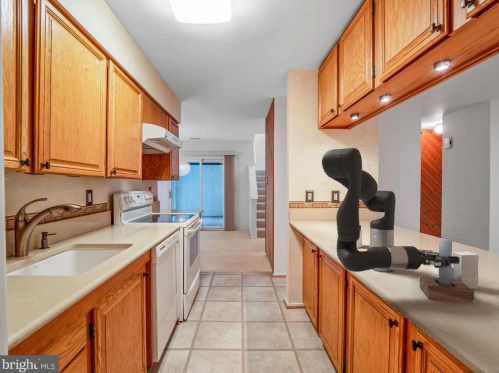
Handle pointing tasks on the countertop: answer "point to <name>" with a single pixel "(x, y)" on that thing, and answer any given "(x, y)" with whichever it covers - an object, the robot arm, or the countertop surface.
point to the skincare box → (467, 269)
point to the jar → (359, 241)
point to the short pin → (452, 273)
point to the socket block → (446, 290)
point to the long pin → (445, 272)
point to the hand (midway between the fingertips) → (454, 258)
